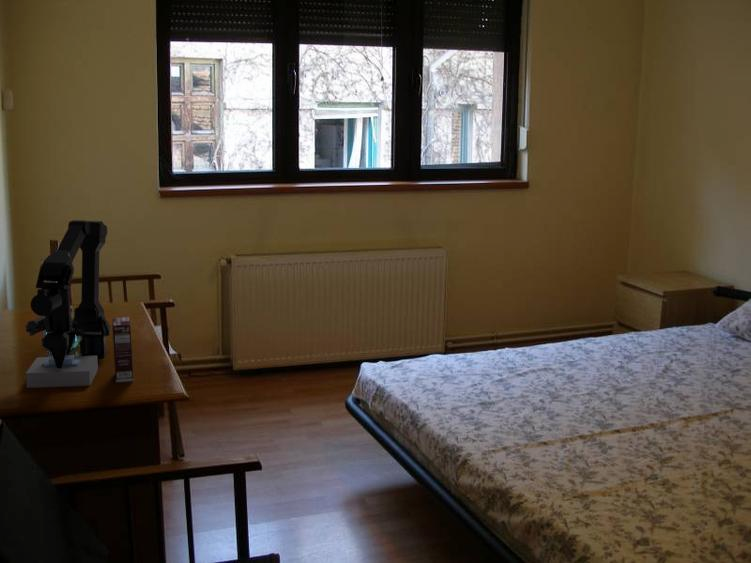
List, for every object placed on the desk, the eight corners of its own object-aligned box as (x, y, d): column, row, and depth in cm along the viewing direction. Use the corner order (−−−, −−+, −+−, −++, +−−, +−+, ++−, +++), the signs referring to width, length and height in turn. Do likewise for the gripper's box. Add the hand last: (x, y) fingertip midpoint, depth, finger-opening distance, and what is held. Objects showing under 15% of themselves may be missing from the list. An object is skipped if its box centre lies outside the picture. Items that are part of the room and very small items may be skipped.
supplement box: (114, 373, 247) (111, 317, 244) (132, 371, 248) (130, 316, 245) (115, 383, 239) (112, 325, 235) (133, 381, 240) (131, 324, 237)
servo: (81, 375, 245) (80, 354, 243) (79, 380, 241) (77, 359, 240) (46, 376, 243) (45, 355, 242) (43, 381, 239) (42, 360, 238)
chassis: (97, 369, 250) (97, 355, 249) (90, 385, 237) (89, 371, 236) (38, 371, 248) (37, 357, 247) (26, 387, 234) (25, 373, 233)
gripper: (34, 299, 246) (38, 354, 249) (19, 316, 228) (23, 374, 231) (76, 298, 247) (80, 352, 251) (64, 315, 229) (68, 373, 233)
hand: (62, 363), depth 241 cm, fingers open, 9 cm apart
